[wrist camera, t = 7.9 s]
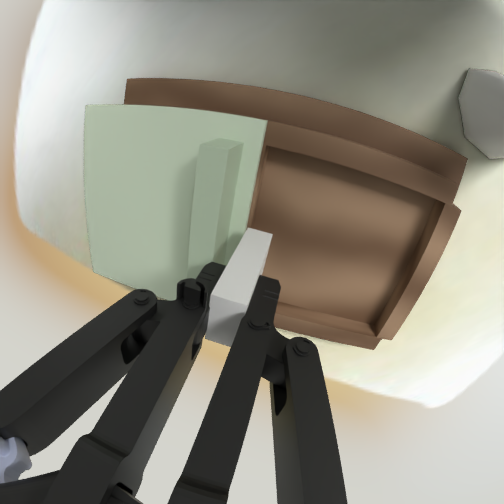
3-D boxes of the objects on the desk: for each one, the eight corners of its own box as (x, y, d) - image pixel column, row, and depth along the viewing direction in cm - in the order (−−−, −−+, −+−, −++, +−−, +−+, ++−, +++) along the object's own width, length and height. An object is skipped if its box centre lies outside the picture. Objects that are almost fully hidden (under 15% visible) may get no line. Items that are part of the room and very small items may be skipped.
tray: (134, 79, 17) (115, 78, 15) (461, 155, 15) (478, 163, 13) (128, 261, 26) (114, 275, 23) (380, 332, 23) (383, 351, 21)
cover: (90, 104, 16) (56, 109, 13) (267, 120, 15) (255, 122, 12) (97, 268, 24) (74, 289, 21) (230, 314, 22) (216, 346, 19)
